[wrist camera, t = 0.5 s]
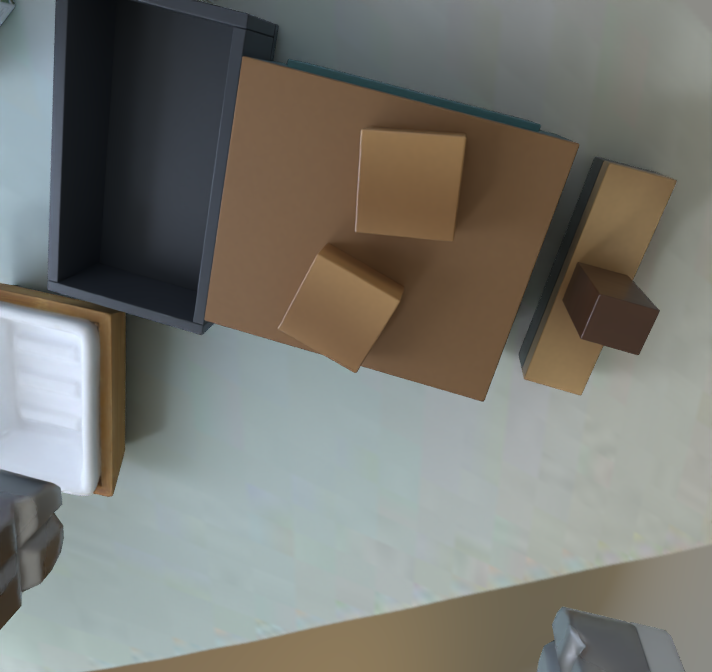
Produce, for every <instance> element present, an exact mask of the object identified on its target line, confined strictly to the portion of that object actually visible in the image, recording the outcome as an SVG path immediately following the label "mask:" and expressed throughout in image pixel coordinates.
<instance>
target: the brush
mask: <svg viewBox="0 0 712 672" xmlns="http://www.w3.org/2000/svg"><path fill="white" fill-rule="evenodd" d="M676 182H677V181H676V180H674V179H672V178H670V177H667V176H665V175H662V174H660V173H657V172H654V171H650V170H647V169H643V168H639V167H635V166H631V165H628V164H624V163H620V162H616V161H612V160H609V159H605V158H601V157H597V156H595V158H594V160H593V163H592V166H591V168H590V171H589V173H588V176H587V179H586V181H585V184H584V186H583V189H582V192H581V194H580V197H579V199H578V202H577V204H576V207H575V210H574V212H573V215H572V217H571V220H570V223H569V225H568V228H567V230H566V233H565V236H564V238H563V241H562V243H561V246H560V249H559V251H558V254H557V256H556V259H555V261H554V264H553V267H552V269H551V272H550V274H549V277H548V280H547V282H546V285H545V287H544V290H543V293H542V295H541V298H540V300H539V303H538V306H537V308H536V311H535V313H534V316H533V318H532V321H531V324H530V326H529V329H528V331H527V334H526V337H525V339H524V342H523V344H522V347H521V350H520V352H519V358H520V363H521V368H522V372H523V377H524V379H525V380H529V381H532V382H536V383H539V384H543V385H546V386H550V387H553V388H557V389H560V390H563V391H567V392H570V393H574V394H577V395H582V393H583V390H584V388H585V386H586V384H587V381H588V379H589V377H590V375H591V372H592V370H593V368H594V366H595V364H596V361H597V359H598V357H599V355H600V352H601V350H602V348H603V346H607V347H611V348H614V349H618V350H621V351H625V352H628V353H632V354H636V355H639V354H640V352H641V349H642V347H643V345H644V343H645V341H646V339H647V337H648V335H649V333H650V331H651V328H652V326H653V324H654V322H655V320H656V318H657V316H658V314H659V312H660V310H659V309H658V308H657V307H656V306H655V305H654V304H653V303H652V302H651V300H650V299H649V298H648V297H647V296H646V295H645V294H644V293H643V292H642V291H641V289H640V288H639V287H638V286H637V285H636V284H635V283H634V282H633V279H634V276H635V274H636V272H637V270H638V267H639V265H640V263H641V261H642V258H643V256H644V254H645V252H646V249H647V247H648V245H649V243H650V241H651V238H652V236H653V234H654V232H655V229H656V227H657V225H658V223H659V220H660V218H661V216H662V214H663V211H664V209H665V207H666V205H667V202H668V200H669V198H670V196H671V194H672V191H673V189H674V187H675V185H676Z"/></svg>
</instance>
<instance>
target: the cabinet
mask: <svg viewBox="0 0 712 672" xmlns="http://www.w3.org/2000/svg"><path fill="white" fill-rule="evenodd" d="M369 126H373V127H386V128H400V129H413V130H427V131H440V132H454V133H465V134H466V138H467V139H466V147H465V155H464V163H463V171H462V179H461V187H460V195H459V203H458V211H457V219H456V227H455V235H454V241H452V242H449V241H439V240H429V239H418V238H408V237H398V236H387V235H377V234H367V233H357V232H355V217H356V201H357V184H358V168H359V151H360V135H361V129H363V128H366V127H369ZM540 127H541V125H540V124H538V123H535V122H532V121H529V120H525V119H521V118H517V117H514V116H510V115H506V114H502V113H498V112H494V111H491V110H487V109H483V108H479V107H475V106H471V105H468V104H464V103H460V102H456V101H452V100H448V99H445V98H441V97H437V96H433V95H429V94H425V93H422V92H418V91H414V90H410V89H406V88H402V87H399V86H395V85H391V84H387V83H383V82H379V81H376V80H372V79H368V78H364V77H360V76H356V75H352V74H349V73H345V72H341V71H337V70H333V69H329V68H326V67H322V66H318V65H314V64H310V63H306V62H301V61H296V60H291V59H288V62H287V64H285V63H280V62H275V61H269V60H263V59H258V58H252V57H246V56H243V57H242V63H241V70H240V77H239V84H238V91H237V98H236V105H235V112H234V119H233V125H232V132H231V139H230V146H229V153H228V160H227V167H226V174H225V181H224V188H223V194H222V201H221V208H220V215H219V222H218V229H217V236H216V243H215V250H214V256H213V263H212V270H211V277H210V284H209V291H208V298H207V305H206V312H205V318H204V320H205V321H208V322H212V323H215V324H219V325H222V326H225V327H229V328H232V329H236V330H239V331H243V332H246V333H249V334H253V335H256V336H260V337H263V338H267V339H270V340H273V341H277V342H280V343H284V344H287V345H291V346H294V347H297V348H301V349H304V350H308V351H311V352H315V353H318V354H321V353H319V352H317V351H316V350H314V349H312V348H310V347H309V346H307V345H305V344H303V343H302V342H300V341H298V340H296V339H295V338H293V337H291V336H289V335H288V334H286V333H284V332H282V331H281V330H279V329H278V327H279V325H280V323H281V321H282V319H283V317H284V316H285V314H286V312H287V310H288V308H289V306H290V304H291V302H292V300H293V299H294V297H295V295H296V293H297V291H298V289H299V287H300V285H301V283H302V282H303V280H304V278H305V276H306V274H307V272H308V270H309V268H310V266H311V265H312V263H313V261H314V259H315V257H316V255H317V254H318V252H319V251H320V250H321V249H322V248H323V247H324V246H325V245H326V244H327V243H329V244H331V245H332V246H334V247H336V248H338V249H339V250H341V251H343V252H344V253H346V254H348V255H350V256H351V257H353V258H355V259H357V260H358V261H360V262H362V263H363V264H365V265H367V266H369V267H370V268H372V269H374V270H376V271H377V272H379V273H381V274H382V275H384V276H386V277H388V278H389V279H391V280H393V281H394V282H396V283H398V284H400V285H401V286H403V287H404V291H403V295H402V298H401V301H400V303H399V305H398V306H397V308H396V310H395V311H394V313H393V314H392V316H391V318H390V319H389V321H388V323H387V324H386V326H385V327H384V329H383V331H382V332H381V334H380V335H379V337H378V339H377V340H376V342H375V344H374V345H373V347H372V348H371V350H370V352H369V353H368V355H367V356H366V358H365V360H364V361H363V363H362V365H361V366H363V367H366V368H369V369H373V370H376V371H380V372H383V373H387V374H390V375H393V376H397V377H400V378H404V379H407V380H411V381H414V382H417V383H421V384H424V385H428V386H431V387H435V388H438V389H441V390H445V391H448V392H452V393H455V394H459V395H462V396H466V397H469V398H472V399H476V400H479V401H484V400H485V397H486V394H487V392H488V389H489V386H490V384H491V381H492V378H493V376H494V373H495V370H496V368H497V365H498V362H499V360H500V357H501V354H502V352H503V349H504V346H505V344H506V341H507V338H508V335H509V333H510V330H511V327H512V325H513V322H514V319H515V317H516V314H517V311H518V309H519V306H520V303H521V301H522V298H523V295H524V293H525V290H526V287H527V285H528V282H529V279H530V277H531V274H532V271H533V268H534V266H535V263H536V260H537V258H538V255H539V252H540V250H541V247H542V244H543V242H544V239H545V236H546V234H547V231H548V228H549V226H550V223H551V220H552V218H553V215H554V212H555V209H556V207H557V204H558V201H559V199H560V196H561V193H562V191H563V188H564V185H565V183H566V180H567V177H568V175H569V172H570V169H571V167H572V164H573V161H574V159H575V156H576V153H577V151H578V148H579V144H578V143H576V142H573V141H571V140H569V139H566V138H564V137H562V136H559V135H557V134H553V133H549V132H546V131H542V130H540ZM321 355H323V354H321Z"/></svg>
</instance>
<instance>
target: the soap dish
mask: <svg viewBox="0 0 712 672" xmlns="http://www.w3.org/2000/svg"><path fill="white" fill-rule="evenodd" d="M125 383H126V313H124V312H121V311H118V310H114V309H111V308H107V307H104V306H101V305H97V304H94V303H90V302H87V301H82V300H77V299H73V298H68V297H64V296H59V295H55V294H50V293H45V292H41V291H36V290H32V289H27V288H22V287H20V286H18V285H8V284H1V283H0V469H3V470H7V471H10V472H14V473H18V474H22V475H25V476H29V477H33V478H36V479H40V480H44V481H47V482H51V483H54V484H56V485H57V486H59V487H60V488H61V492H63V493H68V494H72V495H78V496H89V495H92V494H93V493H94V494H99V495H103V496H107V497H110V496H113V494H114V490H115V486H116V483H117V479H118V475H119V471H120V468H121V464H122V460H123V456H124V452H125Z"/></svg>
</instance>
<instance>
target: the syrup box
mask: <svg viewBox="0 0 712 672" xmlns="http://www.w3.org/2000/svg"><path fill="white" fill-rule="evenodd" d="M14 7H15V3H14V1H13V0H0V26H1V25H2V23H3V22H4V21H5V19H6V18H7V16H8V15H9V14H10V12H11V11H12V10H13V8H14Z"/></svg>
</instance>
